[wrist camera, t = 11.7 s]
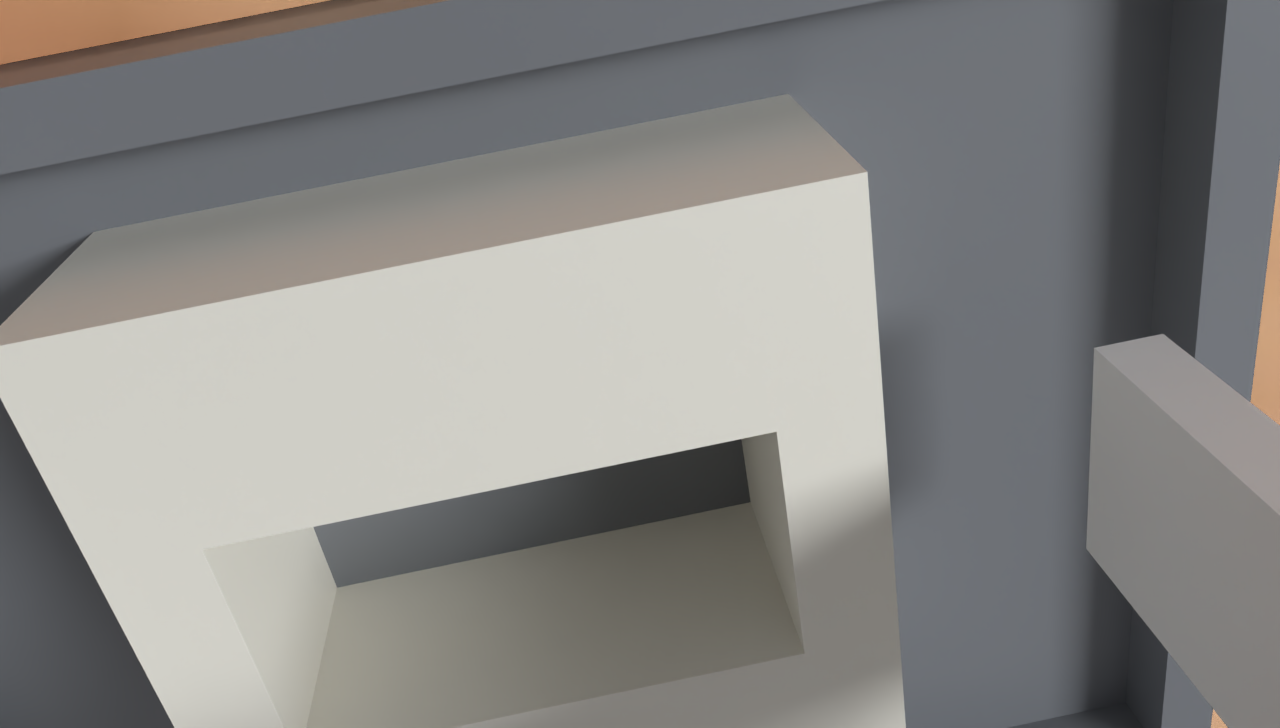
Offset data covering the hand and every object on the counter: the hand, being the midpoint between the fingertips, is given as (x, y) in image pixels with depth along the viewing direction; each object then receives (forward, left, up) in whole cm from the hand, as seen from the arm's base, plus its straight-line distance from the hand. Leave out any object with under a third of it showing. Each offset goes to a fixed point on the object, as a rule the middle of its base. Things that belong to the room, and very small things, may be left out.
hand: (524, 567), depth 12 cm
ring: (0, 0, -2) cm, 2 cm away
